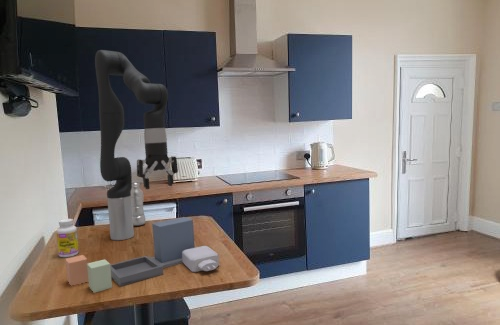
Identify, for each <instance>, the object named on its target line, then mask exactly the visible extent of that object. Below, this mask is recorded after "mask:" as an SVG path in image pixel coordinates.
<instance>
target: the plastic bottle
mask: <svg viewBox="0 0 500 325" xmlns="http://www.w3.org/2000/svg"><path fill="white" fill-rule="evenodd" d="M131 204H132V216H133V227H134V226H135V227H137V226H138V227H139V226H142V225H145V223H146V215H145V211H144V210H145V209H144V191H143V190H142V189H141V188H140V182H139V181H136V182H132V189H131Z"/></svg>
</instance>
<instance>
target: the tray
mask: <svg viewBox="0 0 500 325" xmlns="http://www.w3.org/2000/svg"><path fill="white" fill-rule="evenodd" d="M150 257H151V256H150ZM150 257H149V256H148V255H143V256H139V257H134V258H131V259H127V260H123V261H119V262H116V263H110V269H111V280H113V281H114V282H115V283H116V284H117V285H118V286H119V287H120V288H121V287H123V286H127V285H131V284H133V283H137V282H141V281H145V280H148V279H151V278H155V277H159V276H162V275H164V268H163V266H162V265H160V264H159V263H157V262H156V261H154V260H153V259H151V258H150Z"/></svg>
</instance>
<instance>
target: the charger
mask: <svg viewBox="0 0 500 325" xmlns="http://www.w3.org/2000/svg"><path fill="white" fill-rule="evenodd" d="M219 255H220V254H219V253H217V252H216V251H215V250H213V249H212V248H210V247H209V246H207V245H202V246H195V248H191V249H186V250H184V251H183V252H182V261H183V263H182V264H184V265H185V266H186V268H188V269H189V270H190V272H192V273H197V272H202V271H204V272H209V271H213V270H215V269H216V268H218V267H219V265H220V257H219Z"/></svg>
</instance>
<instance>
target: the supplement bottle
mask: <svg viewBox="0 0 500 325" xmlns="http://www.w3.org/2000/svg"><path fill="white" fill-rule="evenodd" d="M58 225H59V227H58V228H57V229H56V238H57V239H56V240H57V252H58V257H60V258H71V257H75V256H76V255H77V256H78V254H79V239H78V238H79V237H78V229H77V228H78V227H77V226H75V225H74V219H73V218H65V219H61V220H59V221H58Z"/></svg>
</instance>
